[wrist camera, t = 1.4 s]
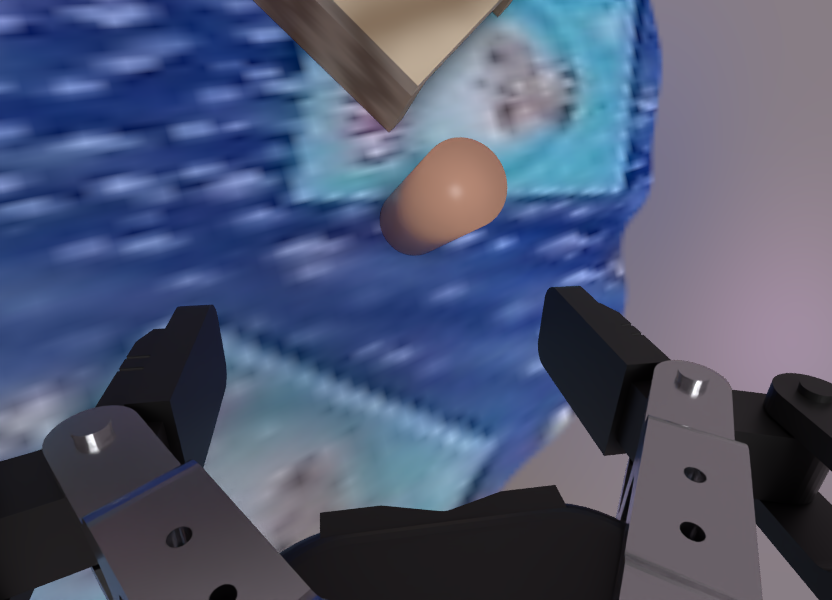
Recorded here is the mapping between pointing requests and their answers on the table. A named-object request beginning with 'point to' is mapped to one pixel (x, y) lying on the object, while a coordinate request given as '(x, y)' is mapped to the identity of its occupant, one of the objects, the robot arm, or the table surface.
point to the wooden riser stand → (381, 43)
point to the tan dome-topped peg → (444, 197)
